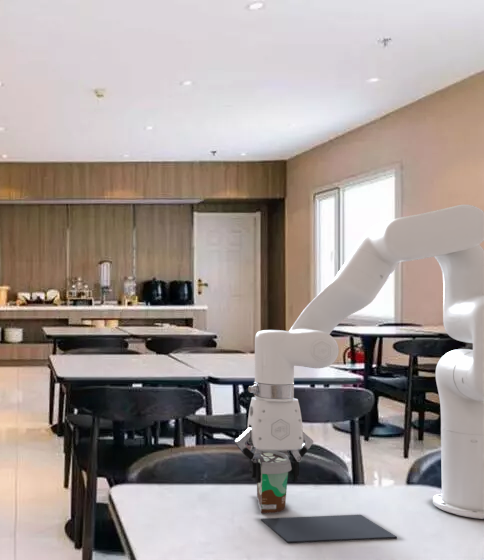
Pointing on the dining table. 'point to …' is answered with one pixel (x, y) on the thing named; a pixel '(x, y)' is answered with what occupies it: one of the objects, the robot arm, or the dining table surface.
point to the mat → (326, 528)
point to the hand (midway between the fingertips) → (274, 479)
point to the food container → (273, 481)
